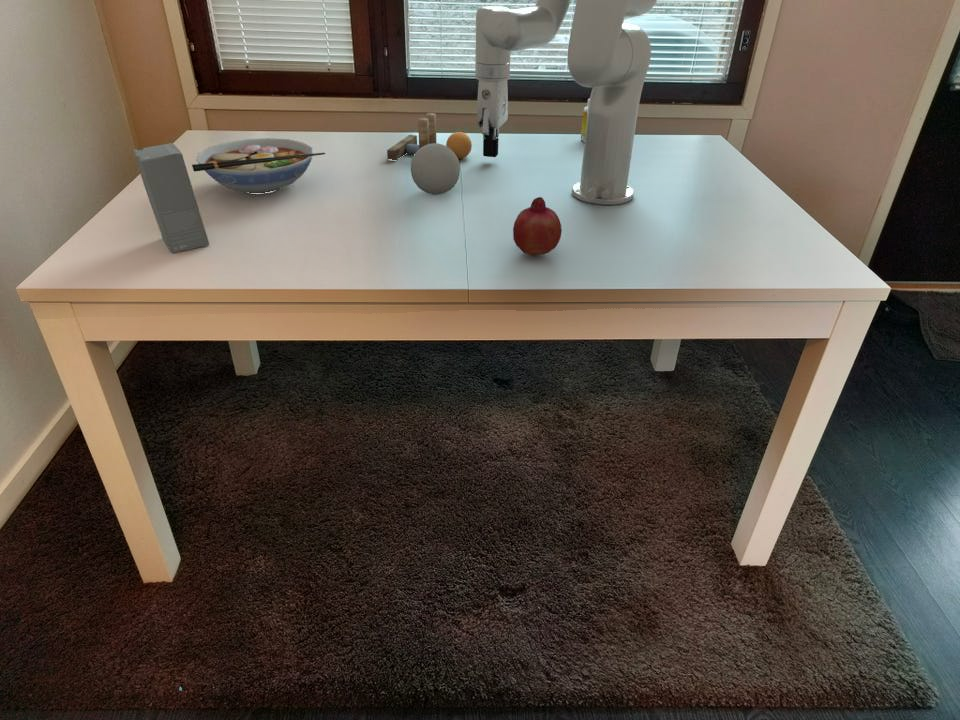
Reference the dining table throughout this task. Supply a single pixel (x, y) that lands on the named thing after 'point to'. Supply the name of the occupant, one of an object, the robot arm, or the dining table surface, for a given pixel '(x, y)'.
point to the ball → (435, 169)
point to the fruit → (537, 229)
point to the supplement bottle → (584, 122)
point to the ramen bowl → (256, 163)
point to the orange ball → (459, 144)
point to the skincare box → (171, 196)
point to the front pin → (412, 148)
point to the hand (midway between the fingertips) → (490, 155)
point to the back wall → (401, 147)
